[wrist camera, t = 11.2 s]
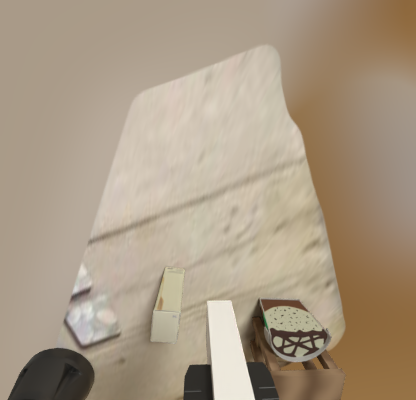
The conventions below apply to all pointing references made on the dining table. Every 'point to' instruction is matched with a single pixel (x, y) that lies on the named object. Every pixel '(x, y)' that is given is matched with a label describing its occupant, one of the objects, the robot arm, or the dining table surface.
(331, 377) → the small wooden bench
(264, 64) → the dining table surface
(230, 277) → the dining table surface
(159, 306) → the skincare box
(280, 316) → the food container
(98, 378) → the dining table surface
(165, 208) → the dining table surface
